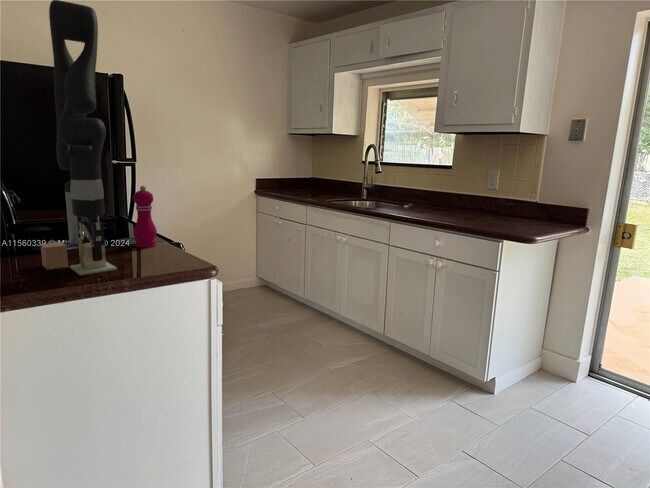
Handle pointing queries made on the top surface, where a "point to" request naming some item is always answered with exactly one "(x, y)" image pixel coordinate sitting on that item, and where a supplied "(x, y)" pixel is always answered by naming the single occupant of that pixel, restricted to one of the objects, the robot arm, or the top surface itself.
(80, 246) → the maple block
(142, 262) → the top surface
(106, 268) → the pad
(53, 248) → the terracotta block
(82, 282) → the top surface
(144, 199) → the pepper mill
